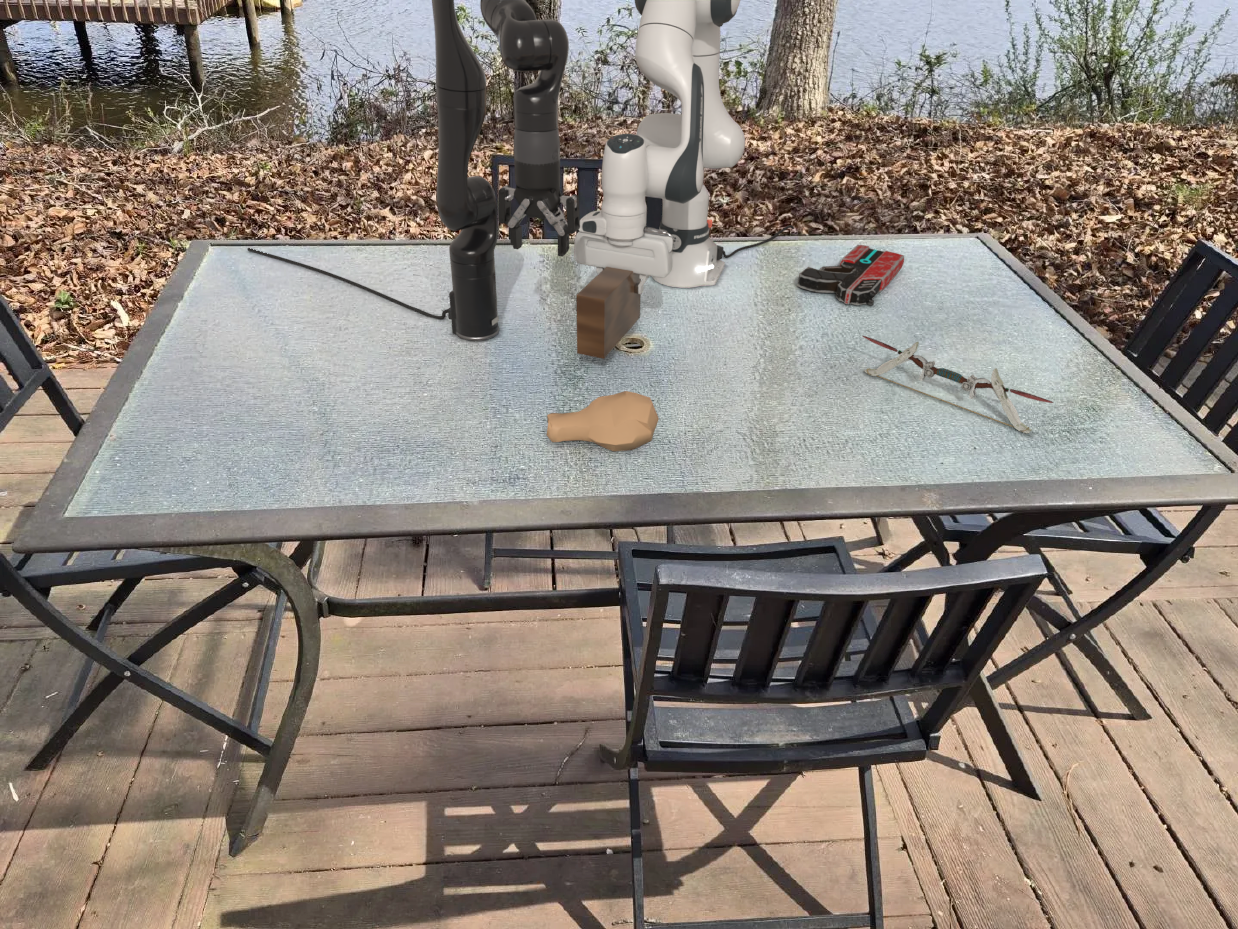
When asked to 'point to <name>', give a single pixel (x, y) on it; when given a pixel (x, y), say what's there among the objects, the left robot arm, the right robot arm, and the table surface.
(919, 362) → the bow
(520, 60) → the left robot arm
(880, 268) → the gun
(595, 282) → the box
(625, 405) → the squash
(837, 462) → the table surface
